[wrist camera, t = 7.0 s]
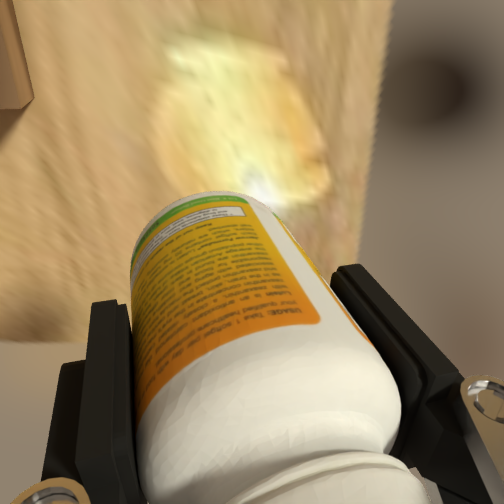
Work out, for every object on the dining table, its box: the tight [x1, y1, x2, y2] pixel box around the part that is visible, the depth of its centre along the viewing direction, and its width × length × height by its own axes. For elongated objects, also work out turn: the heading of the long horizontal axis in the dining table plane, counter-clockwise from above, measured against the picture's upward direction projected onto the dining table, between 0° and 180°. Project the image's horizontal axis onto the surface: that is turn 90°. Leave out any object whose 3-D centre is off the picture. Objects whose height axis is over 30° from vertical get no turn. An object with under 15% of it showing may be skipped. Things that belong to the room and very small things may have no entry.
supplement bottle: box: [130, 191, 432, 504], centre depth 9 cm, size 5×5×10 cm
